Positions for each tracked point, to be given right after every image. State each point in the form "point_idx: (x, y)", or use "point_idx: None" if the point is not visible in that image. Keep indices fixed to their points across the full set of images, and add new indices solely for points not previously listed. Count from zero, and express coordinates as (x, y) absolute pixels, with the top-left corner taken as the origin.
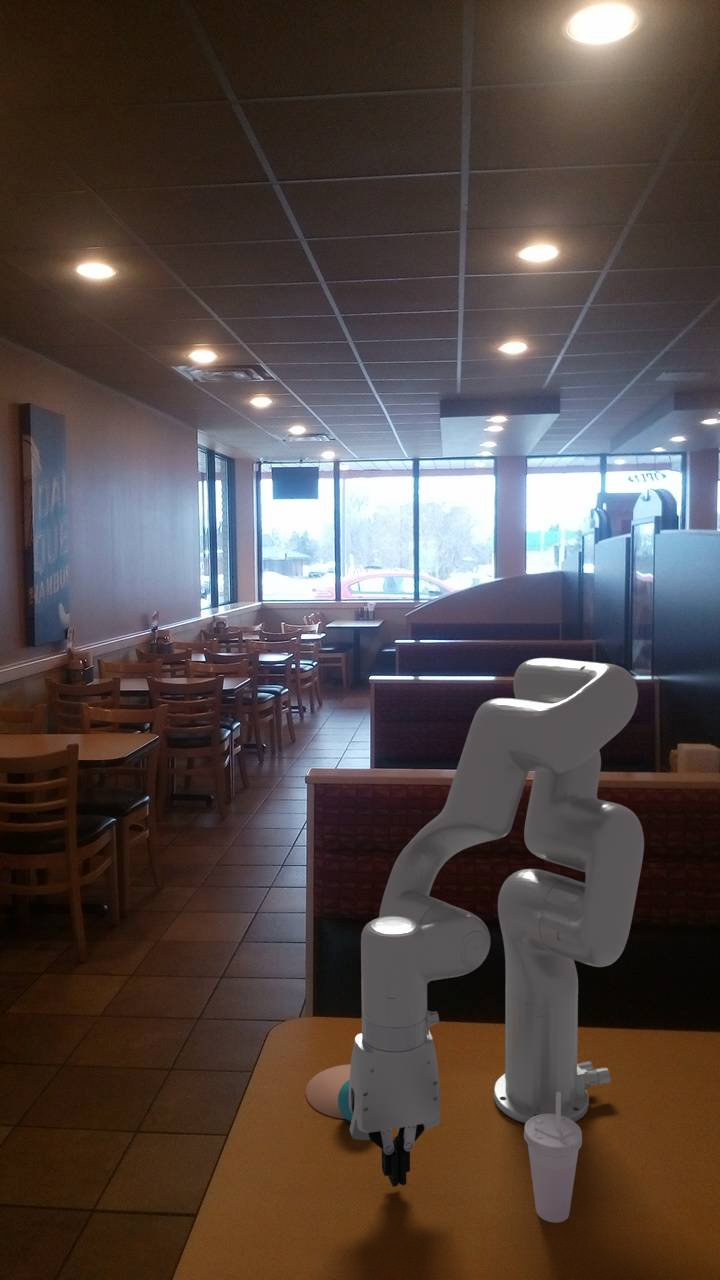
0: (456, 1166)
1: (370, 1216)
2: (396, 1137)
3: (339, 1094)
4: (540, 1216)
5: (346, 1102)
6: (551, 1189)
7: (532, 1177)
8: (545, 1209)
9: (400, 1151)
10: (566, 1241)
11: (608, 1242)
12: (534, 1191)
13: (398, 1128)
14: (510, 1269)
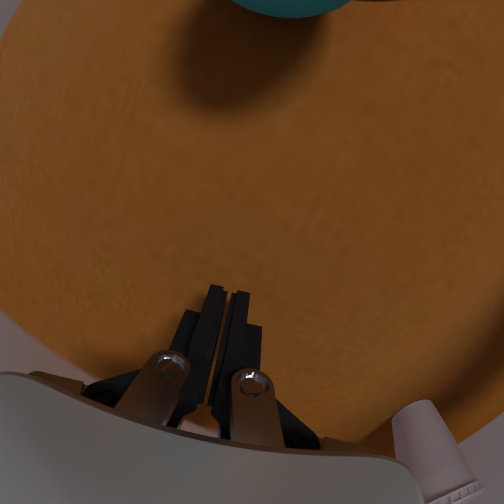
0: (401, 292)
1: (147, 329)
2: (217, 392)
3: None
4: (392, 419)
5: None
6: None
7: (405, 457)
8: (393, 437)
9: (213, 403)
10: (377, 442)
11: None
12: (400, 441)
13: (230, 405)
14: None
